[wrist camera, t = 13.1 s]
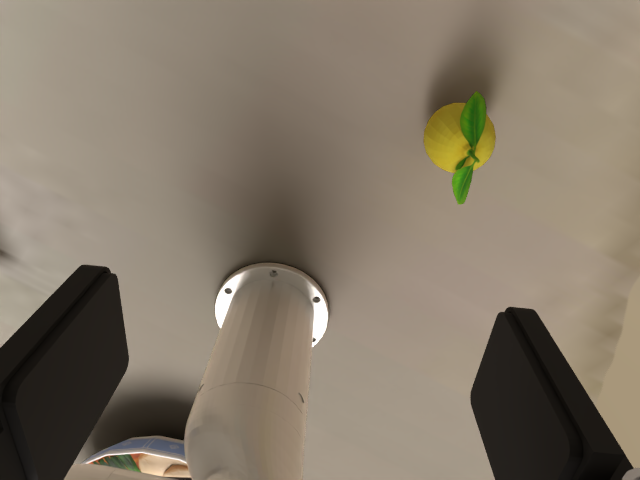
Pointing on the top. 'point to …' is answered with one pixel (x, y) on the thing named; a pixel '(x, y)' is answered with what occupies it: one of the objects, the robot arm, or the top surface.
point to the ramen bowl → (146, 456)
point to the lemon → (460, 141)
